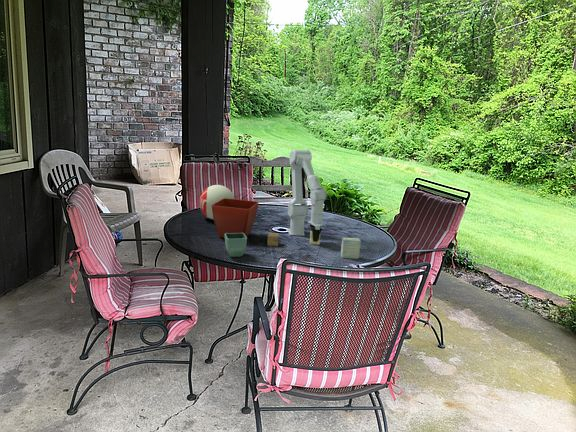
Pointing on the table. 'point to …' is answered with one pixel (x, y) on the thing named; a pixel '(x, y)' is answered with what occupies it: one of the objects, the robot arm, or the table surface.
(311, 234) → the oak block
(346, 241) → the medicine box
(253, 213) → the plant pot
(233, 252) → the flower pot
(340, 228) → the table surface
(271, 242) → the tan wooden cube
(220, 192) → the decorative sphere
